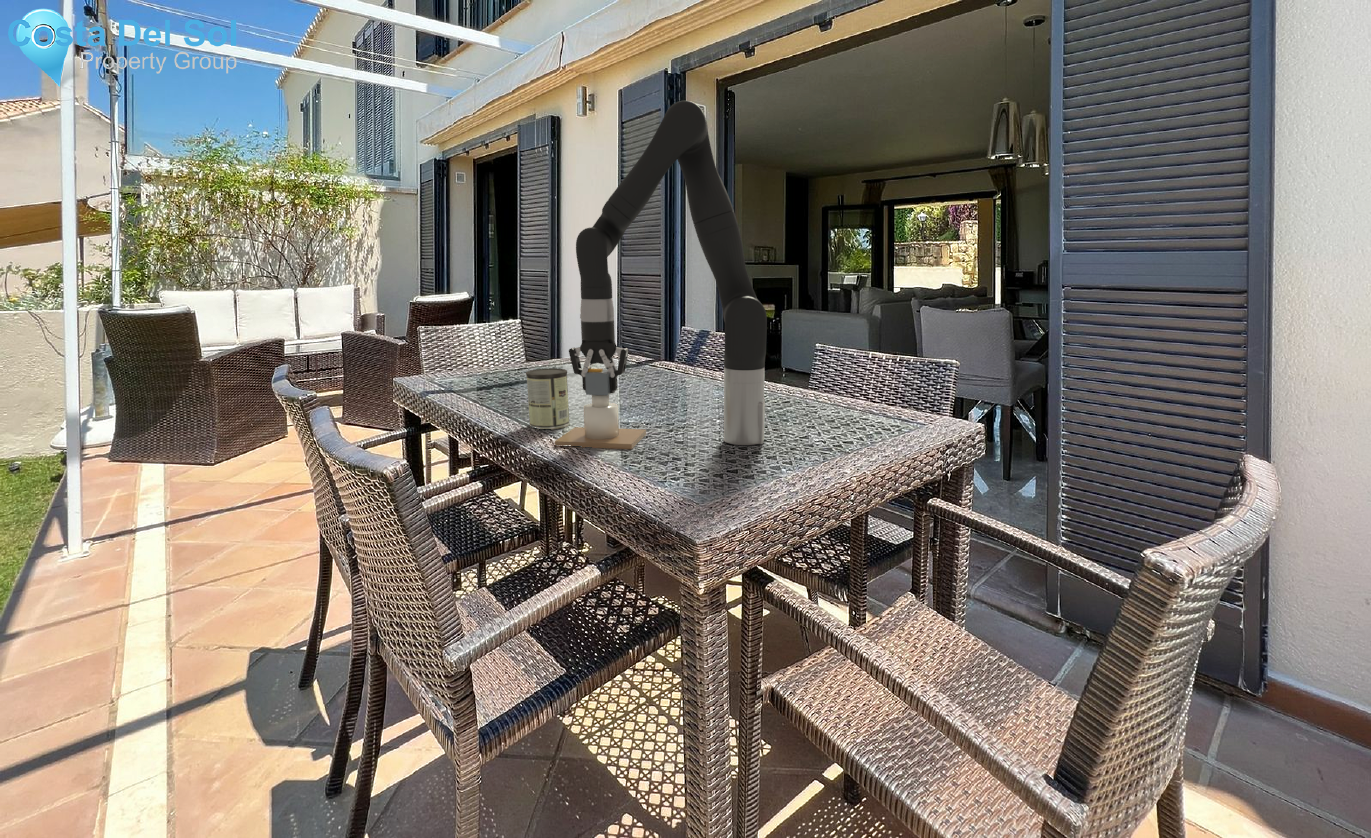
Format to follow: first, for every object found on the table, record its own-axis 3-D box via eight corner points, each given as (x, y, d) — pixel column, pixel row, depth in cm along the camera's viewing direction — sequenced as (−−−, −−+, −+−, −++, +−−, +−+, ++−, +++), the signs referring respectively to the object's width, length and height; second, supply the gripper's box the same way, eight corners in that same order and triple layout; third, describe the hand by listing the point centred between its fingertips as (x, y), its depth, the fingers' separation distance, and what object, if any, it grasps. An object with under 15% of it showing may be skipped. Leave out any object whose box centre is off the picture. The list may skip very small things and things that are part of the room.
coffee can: (536, 420, 188) (533, 368, 185) (574, 421, 187) (571, 368, 184) (523, 429, 178) (520, 374, 175) (563, 430, 177) (561, 374, 174)
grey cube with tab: (614, 391, 166) (613, 367, 165) (607, 395, 161) (607, 370, 160) (592, 390, 167) (592, 367, 166) (586, 394, 162) (585, 370, 161)
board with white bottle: (646, 434, 172) (645, 389, 169) (631, 449, 158) (630, 401, 156) (575, 431, 175) (573, 388, 172) (555, 446, 161) (552, 399, 159)
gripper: (632, 317, 163) (634, 390, 166) (572, 317, 165) (575, 389, 169) (623, 320, 155) (625, 396, 159) (561, 320, 158) (565, 394, 162)
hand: (600, 392), depth 164 cm, fingers closed on grey cube with tab, 5 cm apart
